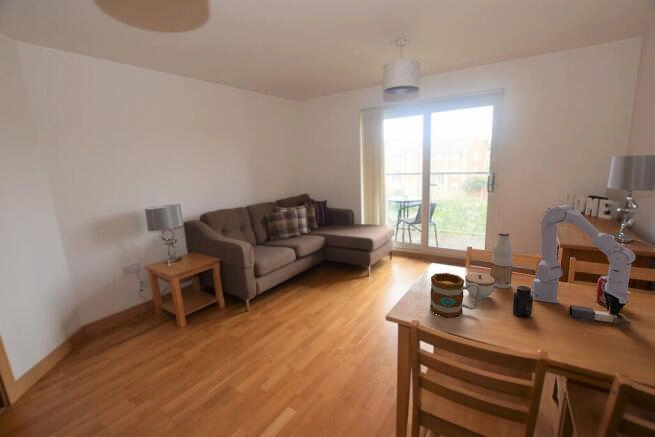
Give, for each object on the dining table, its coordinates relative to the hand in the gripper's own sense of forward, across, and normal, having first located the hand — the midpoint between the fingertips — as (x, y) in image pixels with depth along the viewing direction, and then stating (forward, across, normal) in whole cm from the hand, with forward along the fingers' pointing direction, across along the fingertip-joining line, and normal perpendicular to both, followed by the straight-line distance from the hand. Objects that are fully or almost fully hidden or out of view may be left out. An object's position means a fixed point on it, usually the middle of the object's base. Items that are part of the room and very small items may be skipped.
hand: (612, 312), depth 112 cm
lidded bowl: (+4, +6, +46) cm, 47 cm away
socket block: (+4, 0, -2) cm, 5 cm away
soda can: (+4, +18, -4) cm, 19 cm away
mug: (+4, -14, +56) cm, 58 cm away
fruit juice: (+4, +23, +36) cm, 43 cm away
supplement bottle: (+4, -6, +30) cm, 31 cm away
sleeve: (+4, 0, +9) cm, 10 cm away
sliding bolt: (+4, 0, +4) cm, 5 cm away
